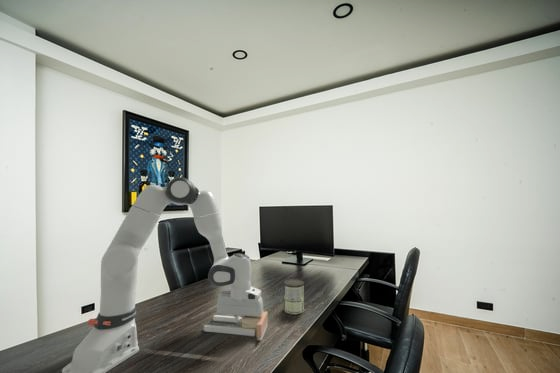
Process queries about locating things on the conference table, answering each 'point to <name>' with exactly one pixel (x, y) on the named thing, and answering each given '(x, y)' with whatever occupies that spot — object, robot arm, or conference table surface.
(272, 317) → the conference table surface
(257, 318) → the block
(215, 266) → the robot arm
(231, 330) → the rail
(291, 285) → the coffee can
